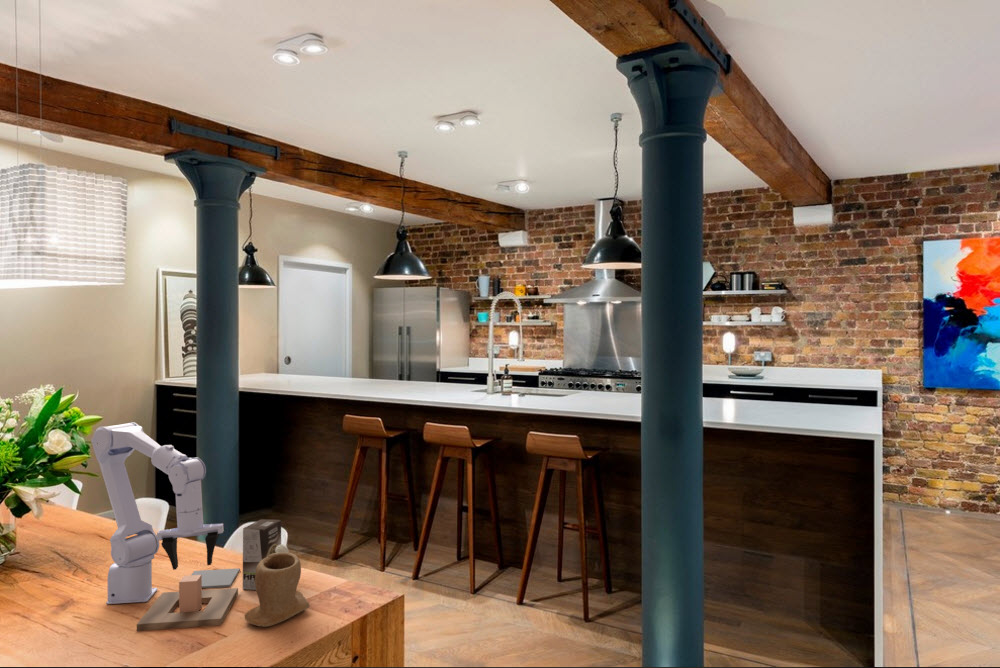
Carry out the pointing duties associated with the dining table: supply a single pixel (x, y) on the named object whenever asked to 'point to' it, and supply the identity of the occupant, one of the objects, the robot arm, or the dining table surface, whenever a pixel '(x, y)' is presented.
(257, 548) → the coffee box
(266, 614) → the stone cup
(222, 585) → the slate mat
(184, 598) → the terracotta block
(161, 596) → the walnut pocket board
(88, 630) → the dining table surface
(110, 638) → the dining table surface
